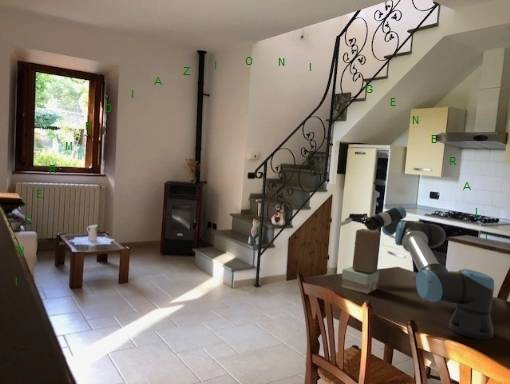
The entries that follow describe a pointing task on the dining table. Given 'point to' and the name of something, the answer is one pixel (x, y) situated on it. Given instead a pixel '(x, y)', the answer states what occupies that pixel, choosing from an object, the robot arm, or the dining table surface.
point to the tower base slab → (359, 286)
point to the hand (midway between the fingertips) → (347, 233)
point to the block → (366, 250)
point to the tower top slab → (360, 276)
